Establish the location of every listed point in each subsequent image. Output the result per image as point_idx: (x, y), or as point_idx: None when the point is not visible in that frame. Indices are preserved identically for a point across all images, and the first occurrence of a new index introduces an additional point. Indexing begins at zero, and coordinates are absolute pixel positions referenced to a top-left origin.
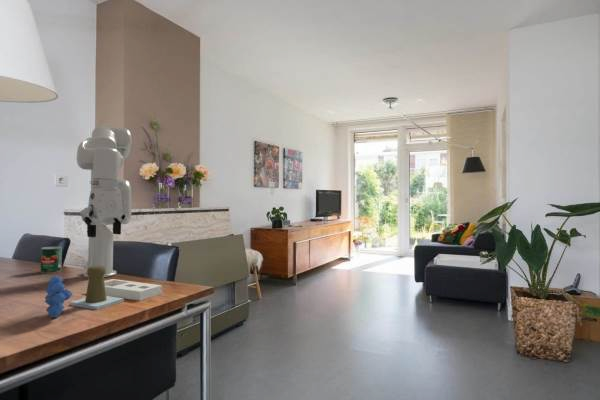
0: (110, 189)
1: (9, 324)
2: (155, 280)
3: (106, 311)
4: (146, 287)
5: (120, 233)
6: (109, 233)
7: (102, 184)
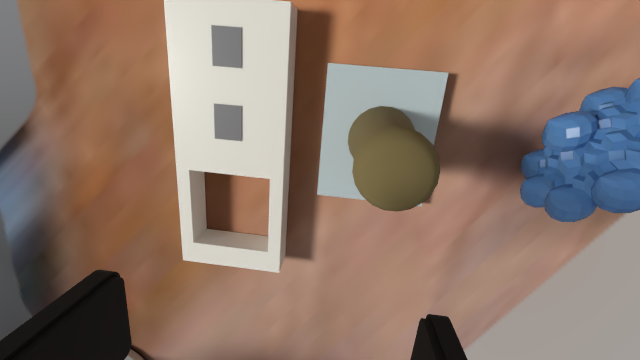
0: None
1: None
2: (56, 175)
3: (452, 23)
4: (227, 29)
5: (100, 272)
6: None
7: None
